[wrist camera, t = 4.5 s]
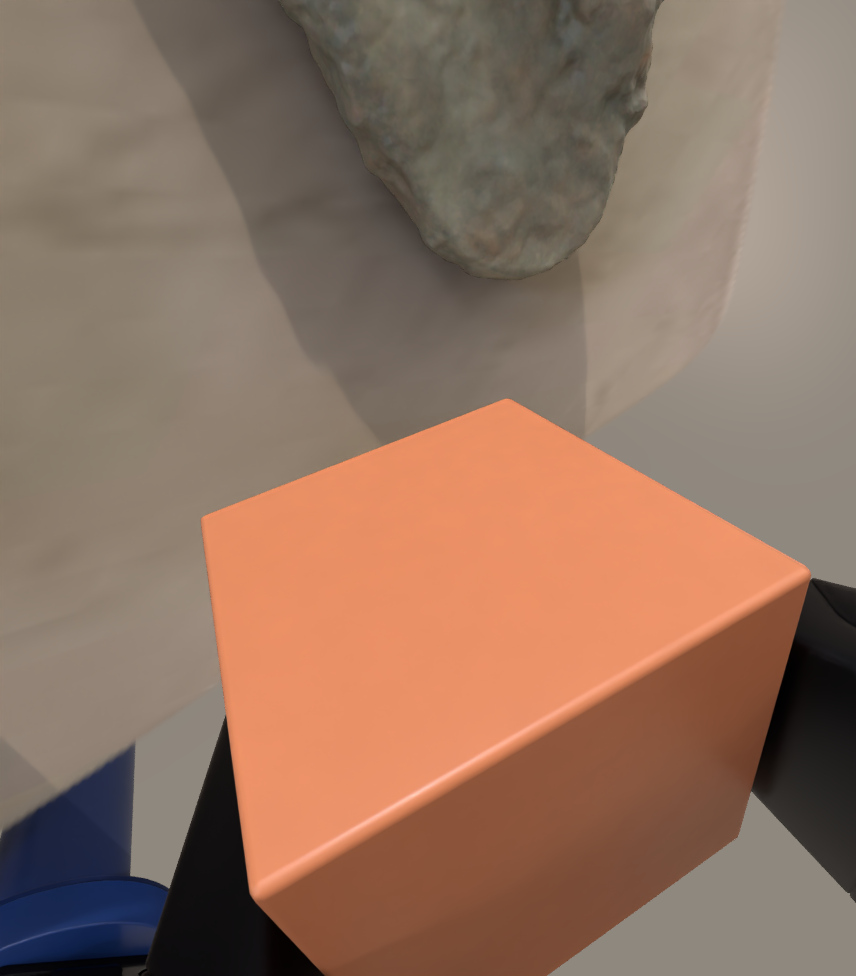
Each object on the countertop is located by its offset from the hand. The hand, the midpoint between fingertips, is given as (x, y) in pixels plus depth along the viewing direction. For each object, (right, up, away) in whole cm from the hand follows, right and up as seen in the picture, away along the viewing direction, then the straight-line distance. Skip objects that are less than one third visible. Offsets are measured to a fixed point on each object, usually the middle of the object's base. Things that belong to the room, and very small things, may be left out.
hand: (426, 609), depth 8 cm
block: (0, 0, +1) cm, 1 cm away
